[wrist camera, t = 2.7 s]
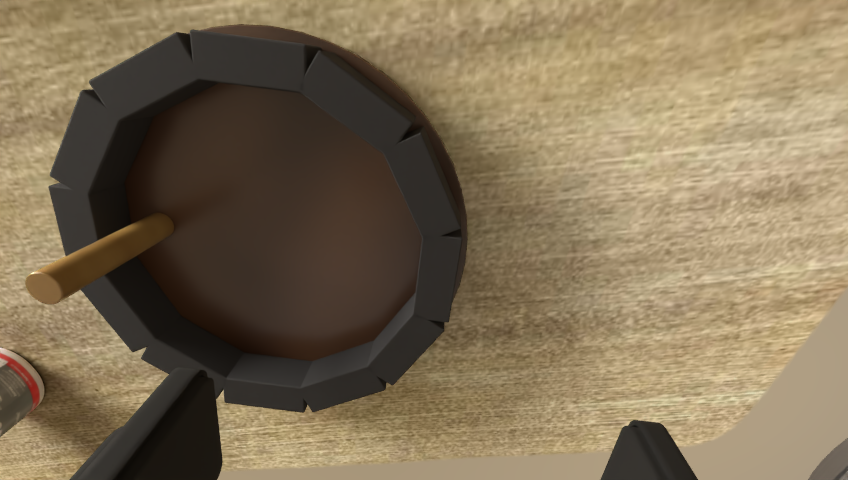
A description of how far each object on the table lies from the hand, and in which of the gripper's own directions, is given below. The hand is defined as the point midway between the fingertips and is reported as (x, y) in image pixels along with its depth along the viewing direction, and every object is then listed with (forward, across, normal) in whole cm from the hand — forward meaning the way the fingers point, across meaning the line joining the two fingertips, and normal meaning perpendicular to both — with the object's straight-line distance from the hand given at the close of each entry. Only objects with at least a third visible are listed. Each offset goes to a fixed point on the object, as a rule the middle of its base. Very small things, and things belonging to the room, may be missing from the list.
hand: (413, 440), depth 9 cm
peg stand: (+11, +7, 0) cm, 13 cm away
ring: (+10, +7, 0) cm, 12 cm away
